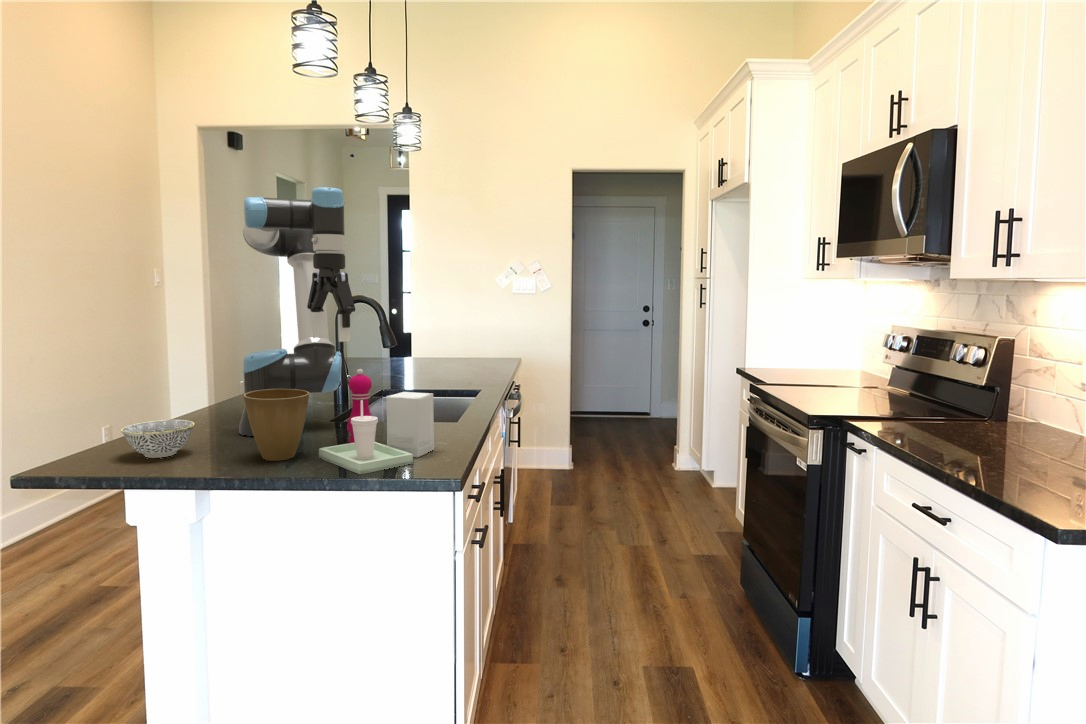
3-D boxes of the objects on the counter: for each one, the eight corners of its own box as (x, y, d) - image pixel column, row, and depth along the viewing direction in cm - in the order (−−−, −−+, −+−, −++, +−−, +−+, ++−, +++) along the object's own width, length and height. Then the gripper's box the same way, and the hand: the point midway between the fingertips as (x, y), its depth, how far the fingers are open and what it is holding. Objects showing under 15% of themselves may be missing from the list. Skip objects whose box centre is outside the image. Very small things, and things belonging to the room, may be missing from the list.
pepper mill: (368, 446, 188) (366, 371, 186) (342, 445, 190) (340, 370, 187) (379, 440, 195) (378, 367, 193) (355, 439, 197) (353, 366, 194)
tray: (319, 458, 176) (318, 448, 176) (369, 449, 185) (369, 440, 185) (359, 474, 161) (359, 464, 161) (412, 463, 171) (412, 454, 171)
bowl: (120, 466, 166) (118, 434, 165) (124, 452, 180) (122, 422, 179) (197, 459, 174) (195, 428, 173) (194, 445, 188) (193, 417, 187)
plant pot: (232, 462, 171) (229, 396, 169) (271, 448, 185) (269, 387, 183) (287, 467, 167) (284, 399, 165) (322, 452, 181) (321, 390, 179)
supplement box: (435, 450, 185) (435, 392, 183) (418, 458, 177) (417, 398, 175) (404, 447, 188) (403, 390, 186) (386, 455, 179) (385, 395, 178)
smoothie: (354, 454, 176) (352, 398, 175) (380, 454, 177) (379, 398, 175) (349, 461, 170) (347, 402, 168) (376, 460, 170) (375, 402, 169)
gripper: (292, 253, 181) (294, 337, 184) (339, 251, 163) (341, 343, 166) (319, 254, 187) (322, 335, 189) (368, 252, 169) (370, 342, 171)
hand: (331, 339), depth 177 cm, fingers open, 13 cm apart
